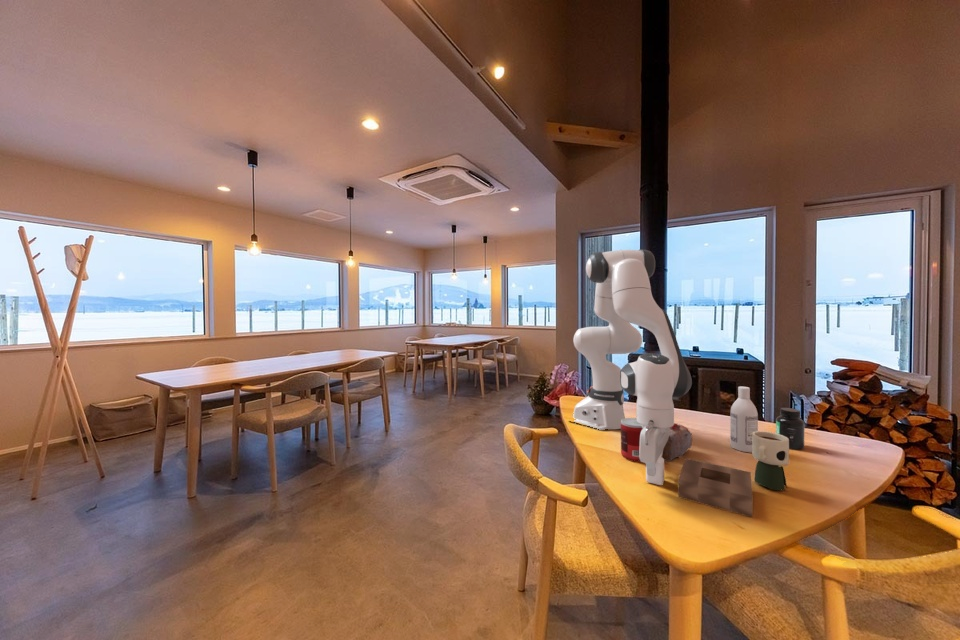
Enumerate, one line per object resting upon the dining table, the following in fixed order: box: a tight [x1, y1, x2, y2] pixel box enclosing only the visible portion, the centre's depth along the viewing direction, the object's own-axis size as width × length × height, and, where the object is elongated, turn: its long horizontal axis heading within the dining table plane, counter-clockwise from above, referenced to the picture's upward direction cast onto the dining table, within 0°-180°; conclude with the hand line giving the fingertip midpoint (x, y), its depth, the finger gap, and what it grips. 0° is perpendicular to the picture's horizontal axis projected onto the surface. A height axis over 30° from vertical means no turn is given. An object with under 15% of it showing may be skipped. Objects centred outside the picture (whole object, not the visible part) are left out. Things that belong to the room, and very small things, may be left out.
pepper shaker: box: [645, 452, 665, 486], centre depth 89 cm, size 4×4×10 cm
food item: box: [662, 422, 693, 463], centre depth 106 cm, size 14×8×10 cm, turn 129°
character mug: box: [751, 430, 790, 491], centre depth 86 cm, size 11×7×13 cm, turn 119°
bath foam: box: [729, 385, 759, 454], centre depth 109 cm, size 7×7×20 cm
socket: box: [678, 457, 754, 519], centre depth 83 cm, size 14×14×4 cm
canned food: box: [620, 417, 643, 463], centre depth 105 cm, size 8×8×11 cm
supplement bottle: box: [775, 407, 805, 451], centre depth 110 cm, size 7×7×12 cm
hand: (655, 467), depth 89 cm, fingers open, 8 cm apart
